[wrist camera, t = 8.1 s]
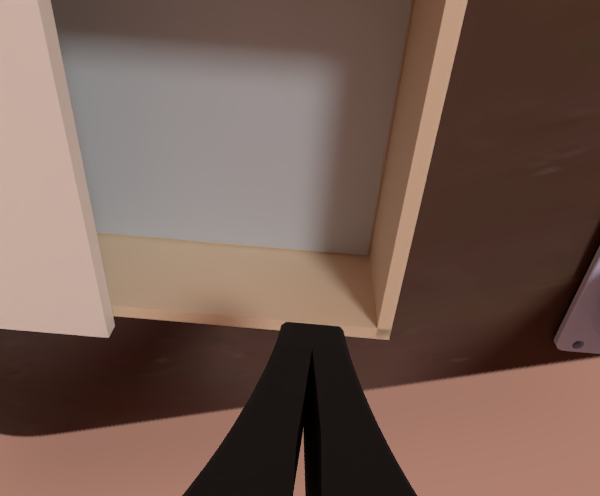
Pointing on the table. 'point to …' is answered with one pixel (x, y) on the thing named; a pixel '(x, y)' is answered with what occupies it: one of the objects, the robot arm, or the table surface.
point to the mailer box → (257, 152)
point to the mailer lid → (44, 188)
